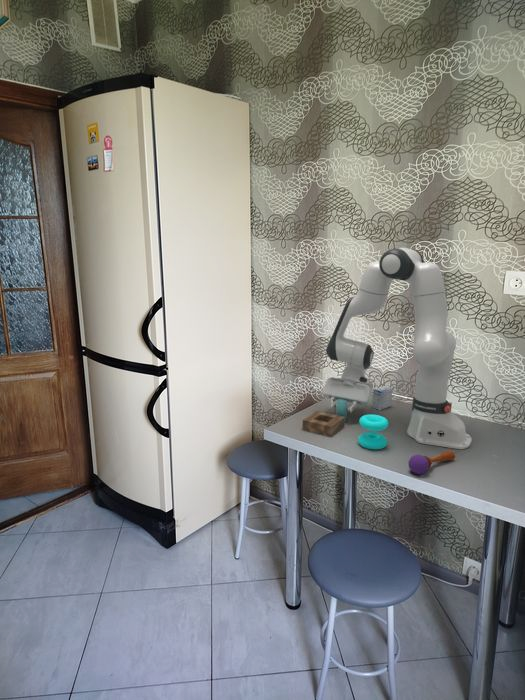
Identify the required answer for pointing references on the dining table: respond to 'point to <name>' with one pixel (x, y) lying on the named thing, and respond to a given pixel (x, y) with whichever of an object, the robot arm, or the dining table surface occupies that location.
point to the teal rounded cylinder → (341, 408)
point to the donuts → (372, 438)
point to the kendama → (428, 461)
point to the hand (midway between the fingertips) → (340, 410)
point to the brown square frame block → (323, 423)
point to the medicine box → (382, 397)
